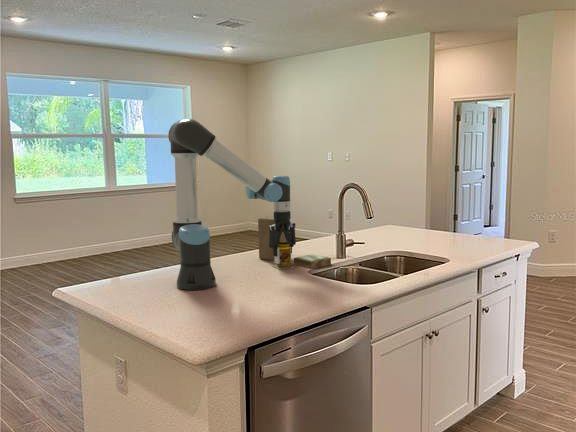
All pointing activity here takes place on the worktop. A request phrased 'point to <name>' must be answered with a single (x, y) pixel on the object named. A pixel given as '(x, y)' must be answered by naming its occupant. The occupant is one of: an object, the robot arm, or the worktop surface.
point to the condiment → (284, 255)
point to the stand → (312, 261)
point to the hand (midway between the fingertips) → (282, 262)
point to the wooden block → (266, 237)
